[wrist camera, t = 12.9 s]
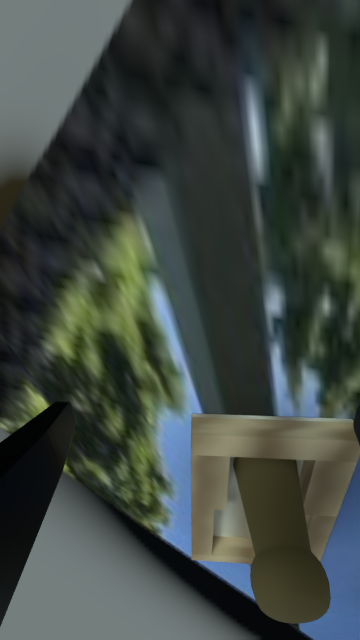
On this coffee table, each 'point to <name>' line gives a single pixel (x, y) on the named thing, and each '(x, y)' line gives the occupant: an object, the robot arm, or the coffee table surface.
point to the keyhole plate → (276, 443)
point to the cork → (280, 541)
